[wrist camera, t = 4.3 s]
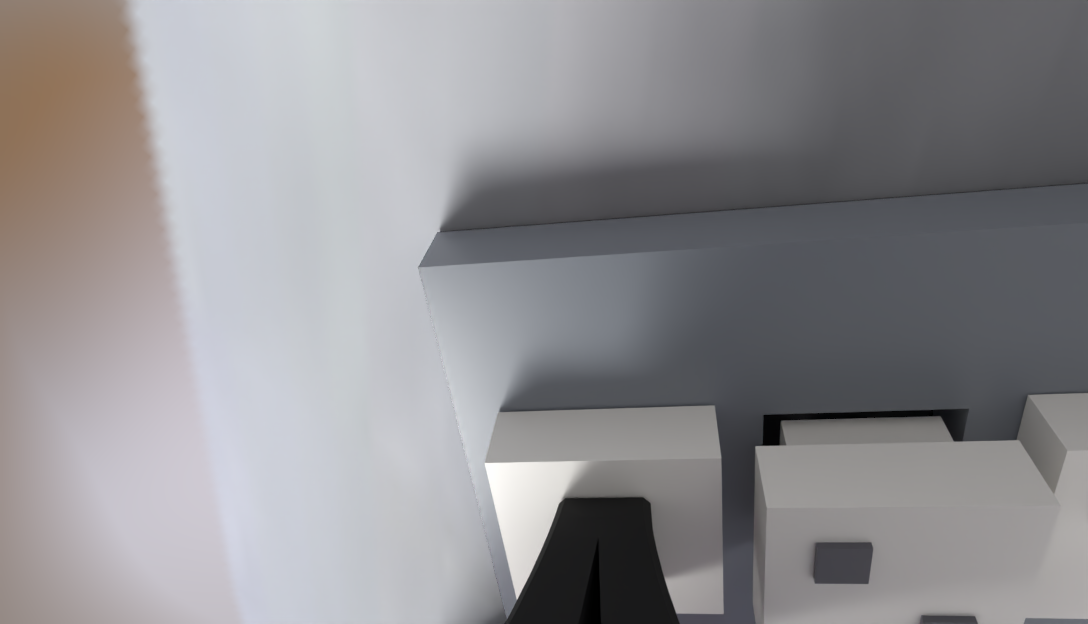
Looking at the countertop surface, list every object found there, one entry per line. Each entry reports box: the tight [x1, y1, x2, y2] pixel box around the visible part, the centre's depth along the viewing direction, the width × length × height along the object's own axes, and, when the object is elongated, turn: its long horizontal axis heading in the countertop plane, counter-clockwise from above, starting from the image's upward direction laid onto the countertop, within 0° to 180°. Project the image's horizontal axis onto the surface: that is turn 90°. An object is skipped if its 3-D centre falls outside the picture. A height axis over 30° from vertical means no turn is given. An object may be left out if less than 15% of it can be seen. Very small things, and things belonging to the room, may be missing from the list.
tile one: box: [485, 405, 724, 614], centre depth 13 cm, size 4×4×2 cm
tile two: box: [753, 416, 1061, 624], centre depth 11 cm, size 4×4×2 cm
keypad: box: [418, 183, 1088, 624], centre depth 13 cm, size 9×13×1 cm
